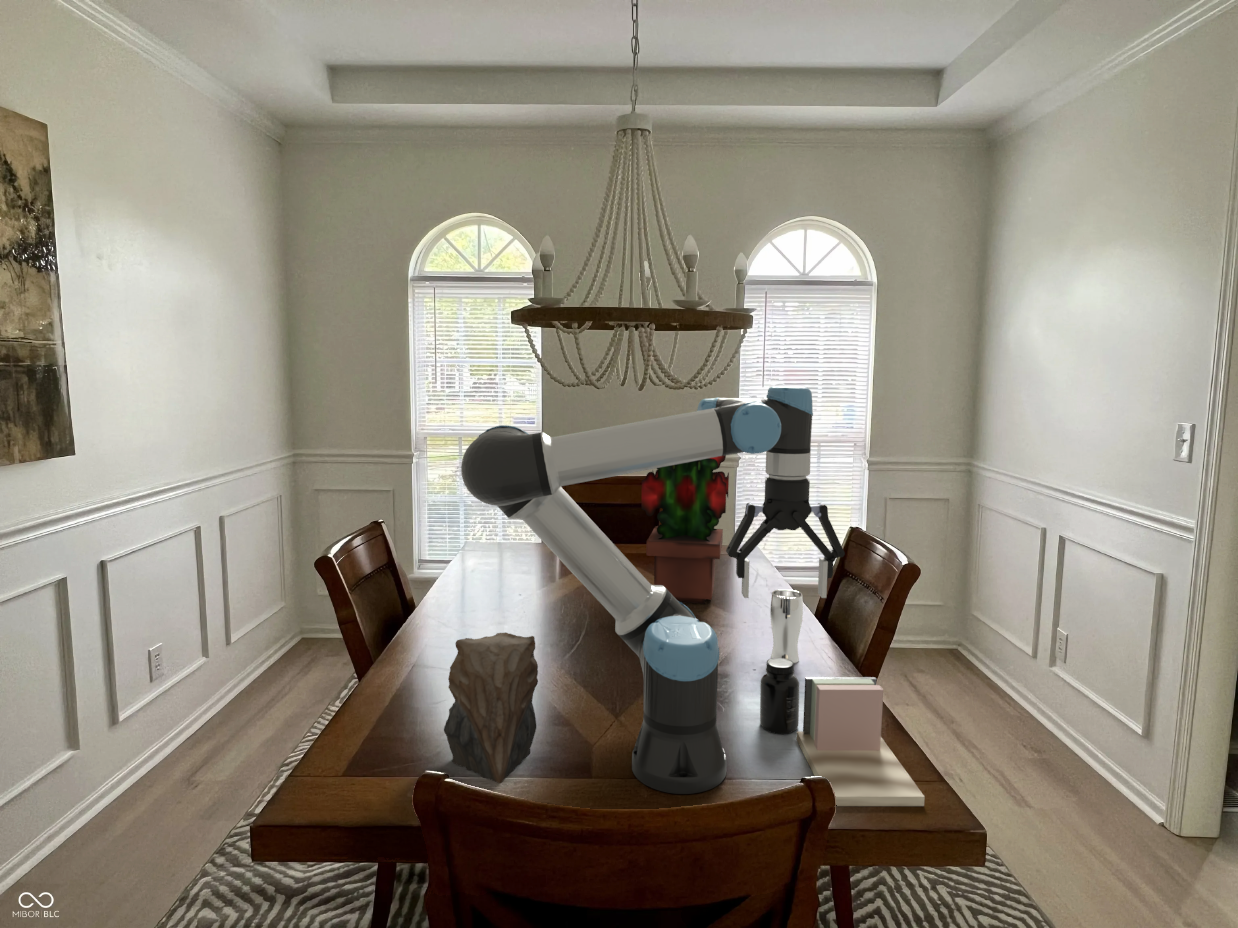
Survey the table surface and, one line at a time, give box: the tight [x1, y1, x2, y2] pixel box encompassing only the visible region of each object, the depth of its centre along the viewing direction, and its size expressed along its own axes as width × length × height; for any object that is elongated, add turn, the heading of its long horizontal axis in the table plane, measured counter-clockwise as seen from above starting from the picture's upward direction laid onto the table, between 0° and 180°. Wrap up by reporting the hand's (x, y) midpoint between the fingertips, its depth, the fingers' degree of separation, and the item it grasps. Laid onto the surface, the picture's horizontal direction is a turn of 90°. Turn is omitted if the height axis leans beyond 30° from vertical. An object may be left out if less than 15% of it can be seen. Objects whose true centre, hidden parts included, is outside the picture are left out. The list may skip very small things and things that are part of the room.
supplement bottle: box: [759, 657, 800, 735], centre depth 135 cm, size 7×7×12 cm
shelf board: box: [796, 730, 926, 807], centre depth 121 cm, size 20×14×2 cm
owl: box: [443, 632, 539, 784], centre depth 124 cm, size 13×13×20 cm
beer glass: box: [769, 588, 804, 665], centre depth 166 cm, size 7×7×15 cm
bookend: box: [802, 676, 878, 735], centre depth 130 cm, size 1×12×10 cm, turn 91°
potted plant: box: [640, 455, 730, 605], centre depth 210 cm, size 22×22×45 cm
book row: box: [810, 679, 884, 750], centre depth 127 cm, size 5×10×10 cm, turn 91°
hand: (783, 595), depth 133 cm, fingers open, 13 cm apart
